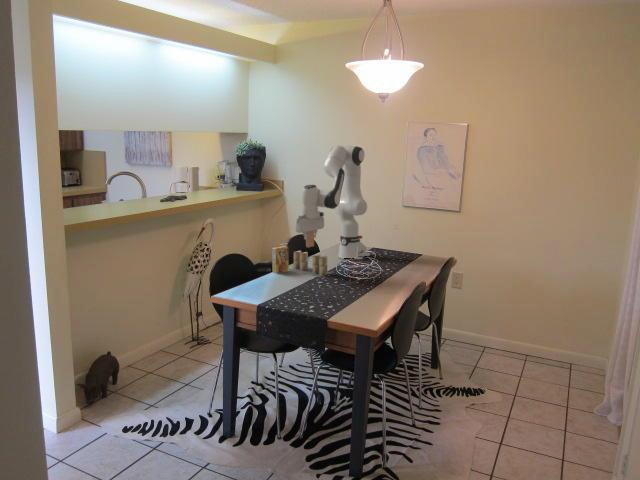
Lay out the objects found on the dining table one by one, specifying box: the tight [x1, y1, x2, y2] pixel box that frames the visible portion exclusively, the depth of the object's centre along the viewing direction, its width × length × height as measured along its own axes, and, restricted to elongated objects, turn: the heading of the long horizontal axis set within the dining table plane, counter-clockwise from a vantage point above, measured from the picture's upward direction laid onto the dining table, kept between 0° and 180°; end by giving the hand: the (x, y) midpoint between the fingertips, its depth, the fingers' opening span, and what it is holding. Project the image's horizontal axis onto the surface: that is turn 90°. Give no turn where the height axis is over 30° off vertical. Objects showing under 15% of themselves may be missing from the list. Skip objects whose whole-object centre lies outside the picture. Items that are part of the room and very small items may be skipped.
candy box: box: [271, 245, 290, 274], centre depth 292 cm, size 9×4×15 cm, turn 130°
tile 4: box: [312, 254, 322, 274], centre depth 290 cm, size 5×2×10 cm, turn 138°
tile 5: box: [319, 255, 328, 276], centre depth 287 cm, size 5×2×10 cm, turn 138°
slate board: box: [289, 266, 333, 278], centre depth 294 cm, size 12×24×1 cm, turn 48°
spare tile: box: [305, 230, 315, 248], centre depth 290 cm, size 5×2×10 cm, turn 138°
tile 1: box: [293, 250, 303, 269], centre depth 300 cm, size 5×2×10 cm, turn 138°
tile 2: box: [300, 251, 309, 271], centre depth 296 cm, size 5×2×10 cm, turn 138°
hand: (310, 238), depth 290 cm, fingers closed on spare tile, 5 cm apart
